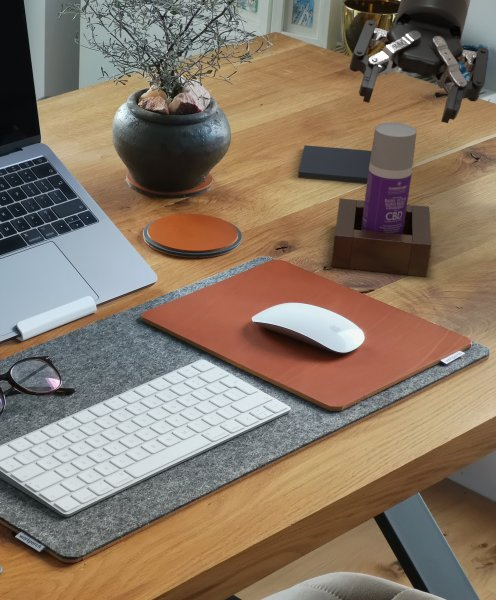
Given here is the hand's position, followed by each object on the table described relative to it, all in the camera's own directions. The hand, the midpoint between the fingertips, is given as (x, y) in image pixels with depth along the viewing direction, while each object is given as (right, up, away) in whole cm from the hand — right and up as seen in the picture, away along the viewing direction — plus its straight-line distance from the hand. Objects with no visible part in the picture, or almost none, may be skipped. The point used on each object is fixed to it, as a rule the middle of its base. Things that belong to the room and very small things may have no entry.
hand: (407, 107), depth 119 cm
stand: (0, -15, +10) cm, 18 cm away
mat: (0, -2, +33) cm, 33 cm away
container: (0, -15, +11) cm, 18 cm away
